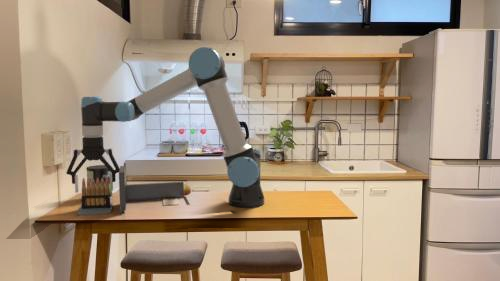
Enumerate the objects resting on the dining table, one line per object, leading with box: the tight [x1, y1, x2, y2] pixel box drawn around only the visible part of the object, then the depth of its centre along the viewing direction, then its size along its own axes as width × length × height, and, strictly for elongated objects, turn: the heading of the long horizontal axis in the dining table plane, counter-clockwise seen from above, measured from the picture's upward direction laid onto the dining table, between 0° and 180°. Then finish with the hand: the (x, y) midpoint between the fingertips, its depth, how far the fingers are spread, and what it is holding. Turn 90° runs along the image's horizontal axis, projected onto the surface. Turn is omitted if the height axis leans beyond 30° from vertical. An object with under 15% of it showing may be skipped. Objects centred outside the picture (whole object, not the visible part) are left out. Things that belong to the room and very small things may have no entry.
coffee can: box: [86, 164, 113, 202], centre depth 171 cm, size 10×10×14 cm
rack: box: [118, 165, 190, 215], centre depth 157 cm, size 26×16×16 cm, turn 106°
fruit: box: [183, 182, 192, 196], centre depth 175 cm, size 11×10×8 cm
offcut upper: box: [162, 198, 180, 207], centre depth 159 cm, size 6×10×1 cm, turn 14°
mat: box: [76, 202, 114, 216], centre depth 154 cm, size 12×14×1 cm
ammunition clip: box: [80, 177, 111, 209], centre depth 153 cm, size 11×2×12 cm, turn 98°
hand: (94, 191), depth 153 cm, fingers open, 12 cm apart
